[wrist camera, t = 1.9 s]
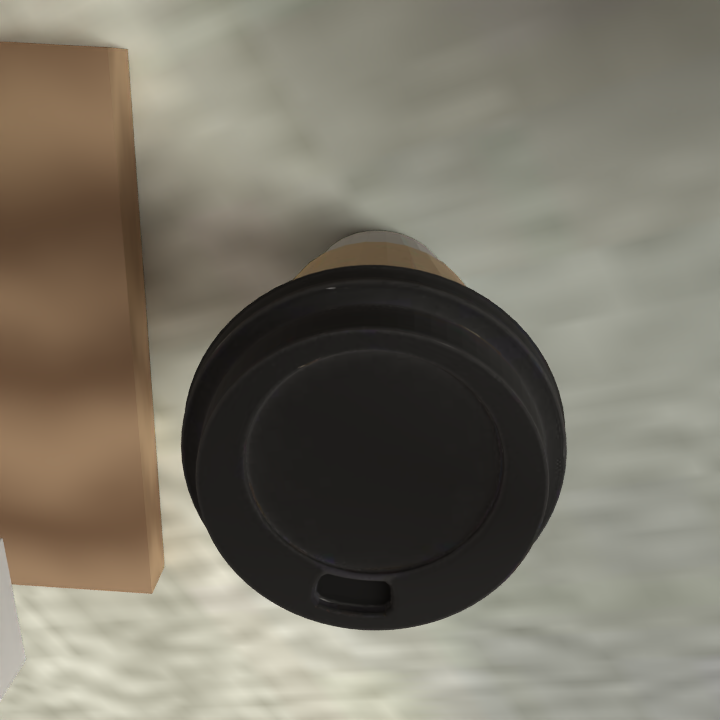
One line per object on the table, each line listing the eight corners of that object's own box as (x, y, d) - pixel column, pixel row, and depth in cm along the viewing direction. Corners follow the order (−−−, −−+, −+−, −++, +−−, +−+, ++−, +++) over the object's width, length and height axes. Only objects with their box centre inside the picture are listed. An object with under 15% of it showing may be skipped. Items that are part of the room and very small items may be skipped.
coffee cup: (316, 421, 32) (259, 692, 18) (232, 227, 28) (82, 374, 14) (517, 359, 30) (627, 602, 16) (453, 146, 27) (523, 223, 13)
